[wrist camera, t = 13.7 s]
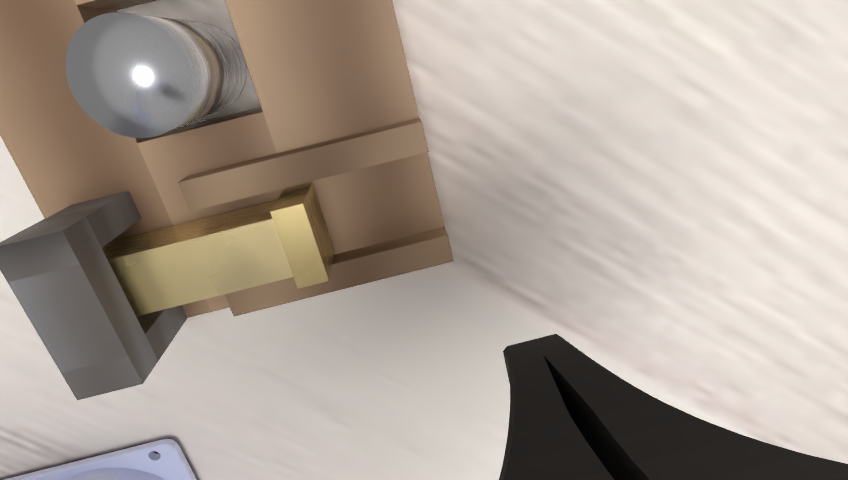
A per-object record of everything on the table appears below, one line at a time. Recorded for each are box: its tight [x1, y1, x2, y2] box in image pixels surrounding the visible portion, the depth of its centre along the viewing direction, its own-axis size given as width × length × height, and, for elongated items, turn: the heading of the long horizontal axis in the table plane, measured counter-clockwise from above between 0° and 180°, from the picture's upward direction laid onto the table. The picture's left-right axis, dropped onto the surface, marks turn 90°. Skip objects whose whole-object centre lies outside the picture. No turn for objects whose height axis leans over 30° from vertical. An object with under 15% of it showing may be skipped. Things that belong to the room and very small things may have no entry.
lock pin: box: [102, 182, 334, 316], centre depth 17 cm, size 8×3×3 cm, turn 103°
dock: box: [0, 0, 454, 400], centre depth 16 cm, size 13×12×6 cm
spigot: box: [65, 13, 246, 138], centre depth 16 cm, size 3×3×6 cm
